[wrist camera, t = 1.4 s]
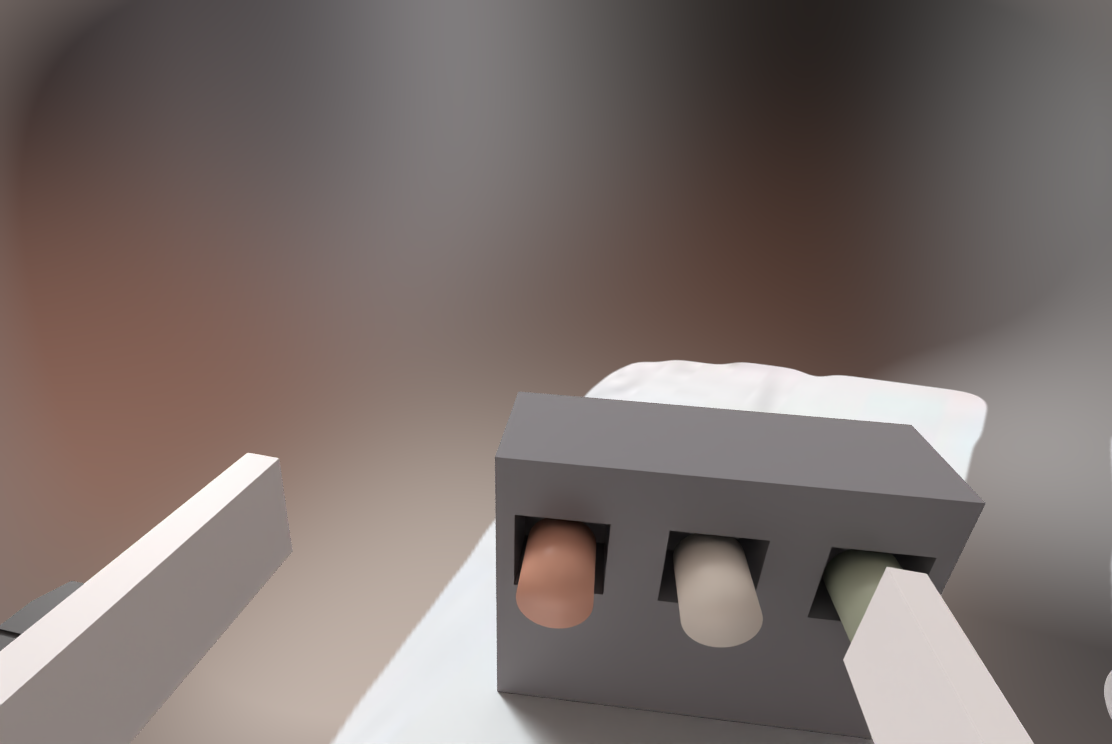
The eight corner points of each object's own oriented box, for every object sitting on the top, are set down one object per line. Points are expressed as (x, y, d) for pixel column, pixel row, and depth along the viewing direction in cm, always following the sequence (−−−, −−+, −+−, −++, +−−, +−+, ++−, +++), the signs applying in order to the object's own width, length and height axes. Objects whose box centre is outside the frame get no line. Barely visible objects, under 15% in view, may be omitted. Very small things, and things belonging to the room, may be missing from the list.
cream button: (737, 587, 30) (751, 534, 28) (753, 651, 26) (770, 595, 25) (668, 579, 30) (678, 527, 29) (675, 642, 27) (686, 586, 25)
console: (830, 638, 39) (911, 424, 31) (870, 738, 33) (985, 503, 25) (515, 602, 41) (518, 391, 33) (497, 691, 34) (495, 457, 27)
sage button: (887, 603, 29) (909, 550, 28) (924, 671, 26) (953, 615, 24) (815, 595, 30) (833, 543, 28) (842, 662, 26) (865, 606, 24)
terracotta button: (593, 571, 31) (598, 519, 29) (590, 632, 27) (596, 576, 25) (527, 564, 31) (528, 512, 29) (515, 623, 27) (516, 567, 26)
